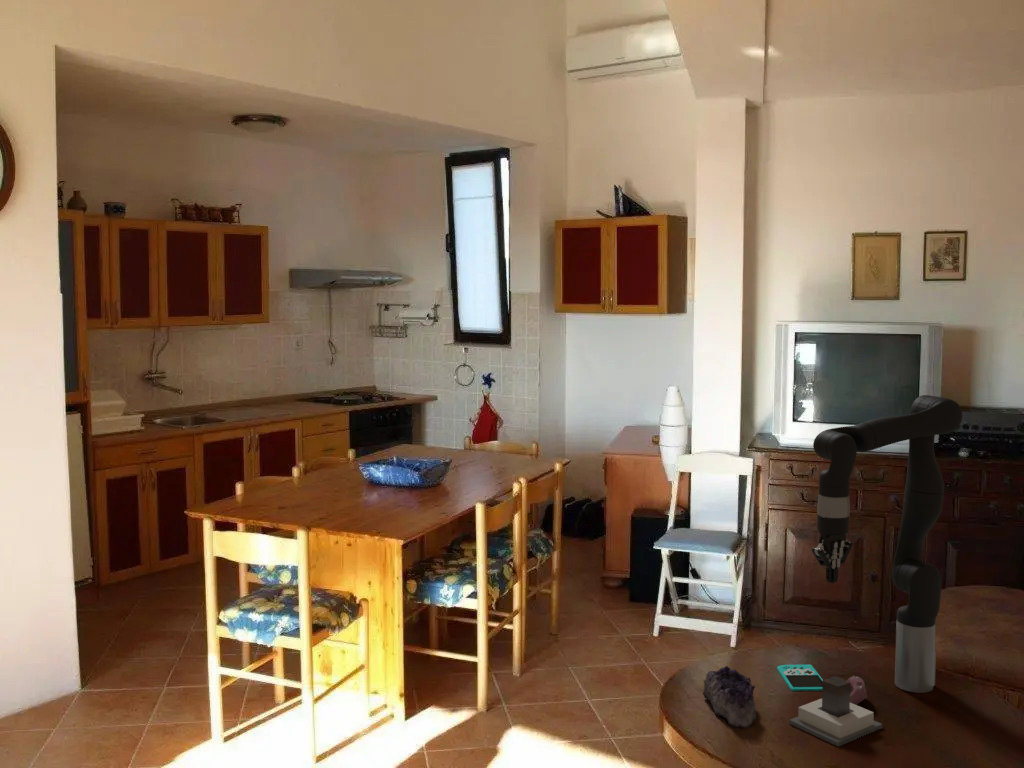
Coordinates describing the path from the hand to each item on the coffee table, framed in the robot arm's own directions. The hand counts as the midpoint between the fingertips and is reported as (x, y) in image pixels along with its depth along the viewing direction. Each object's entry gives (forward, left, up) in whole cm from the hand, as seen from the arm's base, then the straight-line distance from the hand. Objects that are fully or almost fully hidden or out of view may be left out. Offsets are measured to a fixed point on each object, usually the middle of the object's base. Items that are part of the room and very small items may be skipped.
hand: (831, 581), depth 240 cm
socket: (+9, +9, -31) cm, 34 cm away
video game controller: (-6, +2, -31) cm, 32 cm away
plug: (+9, +9, -30) cm, 33 cm away
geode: (+22, -11, -31) cm, 40 cm away
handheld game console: (-7, -14, -32) cm, 35 cm away
